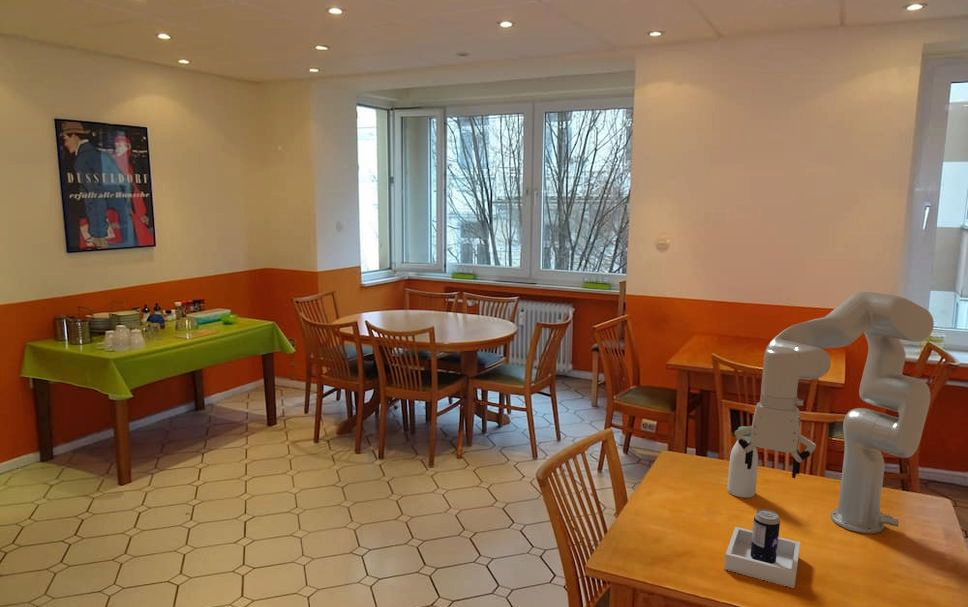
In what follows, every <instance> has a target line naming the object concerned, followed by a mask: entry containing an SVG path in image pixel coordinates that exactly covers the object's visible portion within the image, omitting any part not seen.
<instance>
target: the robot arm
mask: <svg viewBox="0 0 968 607" xmlns="http://www.w3.org/2000/svg"><path fill="white" fill-rule="evenodd" d="M934 325H935V322H934V317H933V315H932V313H931V312H930V311H929V310H928V309H927V308H925V307H923V306H920V305H919V304H917V303H916V302H913V301H911V300H909V299H907V298H905V297H902V296H898V295H894V294H893V295H892V294H885V293H878V292H871V291H859V292H855V293H853V294H851V295H850V296H849V297H848V298H846V299H845V300H844V301H843V302H842V303H841V304H839V305H838V306H836V308H833V309H832V311H830V312H829V313H827V314H826V315H825V316H823V317H819V318H814V319H811V320H807V321H804V322H799V323H797V324H793V325H791V326H789V327H787V328H785V329H783V330H782V331H781V332H780V333H778V335H776V336H775V337H773V339H771V341H770V342H769V343H768V344H767V346H766V347H765V352H764V355H763V365H762V366H763V367H762V378H761V387H760V388H761V389H760V397H759V398H760V399H759V402H757V403H756V406H755V409H754V413H753V417H752V418H753V419H752V422H751V423H752V424H751V425H750V426H747V427H745V428H742V429H735V431H734V436H735V438H736V439H737V440H738V442H739V444H740V445H741V446H742V448H743V449H744V451H745V452H746V455H745V464H748V465H747V469H751V466H752V460H753V449H754V448H755V447H756V448H761V449H766V450H771V451H775V452H776V451H777V452H782V453H788V454H789V453H790V454H791V456H792V457H793V462H792V470H791V471H792V472H791V473H792V474H791V478H792V479H796V476H797V475H800V472H801V463H802V462H803V461H804V460H806V459H807V458H809V457H810V456H811V454H813V452H814V451H815V449H816V448H817V444H816V443H815V442H813V441H811V439H809V438H807V437H805V436H804V435H803V434H801V416H800V414H801V413H800V409H799V408H798V407H803V406H804V399H800V398H799V397H798V386H799V385H798V384H799V380H817V379H820V378H822V377H824V376H825V375H827V373H828V372H829V370H830V369H831V364H832V359H831V357H830V355H829V353H828V352H827V351H826V350H824V349H833V348H843V347H847V346H849V345H851V344H852V343H854V342H855V341H856V340H857V339H858V338H859V337H860V336H862V335H863V334H864V336H865V339H866V342H867V347H868V349H867V350H868V351H867V357H866V361H865V363H864V364H865V365H864V367H863V372H862V377H861V381H860V383H859V390H858V391H859V392H858V393H859V397H860V399H861V400H862V401H863V402H865V403H866V404H870V405H872V406H876V407H879V408H883V409H886V410H889V411H893V412H897V413H898V417H897V416H895V415H894V416H893V415H890V414H887V413H885V412H880V411H876V410H873V409H871V408H865V407H864V408H863V407H862V408H861V407H857V408H853V409H851V410H849V411H848V412H847V413H846V414H845V416H844V420H843V426H842V429H843V437H844V438H843V439H844V454H843V462H842V471H841V472H842V473H841V481H840V488H839V497H838V505H837V506H838V507H837V508H835V509H833V510H831V512H830V518H831V520H832V522H834V523H835V524H836V525H838V526H840V527H842V528H844V529H846V530H849V531H853V532H854V533H855V532H856V533H860V534H878V533H880V532H883V530H884V528H885V525H889V526H892V527H899V520H900V519H898V518H895V517H894V516H893V514H885V513H883V512H882V511H881V507H880V506H881V498H882V489H883V482H884V472H885V460H884V457H883V456H884V455H882V452H883V453H885V454H888V455H891V456H895V457H899V458H911V457H912V456H913V455H915V453H916V452H917V450H918V447H919V446H920V442H921V439H922V436H923V430H924V428H925V424H926V419H927V417H928V412H929V408H930V403H931V390H930V387H929V385H928V384H927V383H926V382H925V381H923V380H922V379H919V378H916V377H913V376H908V375H904V374H903V371H904V366H905V362H906V359H907V358H906V356H907V355H906V351H905V348H904V346H903V344H902V341H901V340H903V341H907V342H913V343H921V342H924V341H926V340H927V339H928V338H929V337H930V336H931V334H932V333H933V331H934ZM748 433H751V442H749V443H747V442H746V440H745V439H744V438H743V435H744V434H748ZM737 440H736V441H737ZM800 443H801V444H803V445H805V446H806V449H805V450H803V451H800V450H799V448H798V447H799V444H800Z"/></svg>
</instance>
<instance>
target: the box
mask: <svg viewBox="0 0 968 607" xmlns="http://www.w3.org/2000/svg"><path fill="white" fill-rule="evenodd" d="M752 533H753V530H751V529H746V528H743V527H738V526H735V527H734V529H733V532H732V535H731V538H730V541H729V544H728V546H727V548H726V552H725V558H724V571H727V570H728V572H730V571H732V572H731V573H734V572H736V573H735V574H738V573H739V575H741V574H742V576H745V575H746V577H749V576H750V578H752V577H754V578H753V579H756V578H757V579H758V580H761V581H763V580H765V582H767V581H768V583H771V582H772V583H771V584H774V583H776V584H775V585H778V584H780V585H779V586H782V585H784V586H783V587H785V586H788V587H787V588H789V587H791V588H790V589H793V588H794V589H795V586H796V579H797V573H798V565H799V559H800V558H799V557H800V551H801V550H800V549H801V541H797V540H792V539H788V538H784V537H781V536H779V537H778V547H777V556H776V562H775V563H773V564H770V563H766V562H762V561H758V560H755V559H752V557H751V555H750V554H751V544H752Z"/></svg>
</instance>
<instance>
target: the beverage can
mask: <svg viewBox="0 0 968 607" xmlns="http://www.w3.org/2000/svg"><path fill="white" fill-rule="evenodd" d="M779 517H780V516H779V515H778V513H777V512H775V511H773V510H770V509H759V510H757V511H756V512H755V514H754V517H753V525H752V531H753V533H752V544H751V554H750V555H751V557H752V559H755V560H758V561H762V562H766V563H770V564H773V563H775V562H776V556H777V547H778V537H780V536H779V534H780V526H781V521H780V519H779Z"/></svg>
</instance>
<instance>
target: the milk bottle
mask: <svg viewBox="0 0 968 607" xmlns="http://www.w3.org/2000/svg"><path fill="white" fill-rule="evenodd" d="M745 427H748V426H746V425H745V426H744V425H742V426H738V429H742V428H745ZM738 429H737V430H738ZM743 438H744V439H745V440H746V442H747V443H749V442H751V433H748V434H744V435H743ZM745 455H746V452H745V451H744V449H743V448H742V446H741V445H740V444H739V442H738V440H736V442H735V444H734V445H733V447H732V448H731V451H730V458H729V465H728V476H727V491H728V493H729V494H731V495H732V496H734V497H736V498H737V497H738V498H742V499H748V498H753V497H755V495H756V489H757V488H756V487H757V478H758V477H757V476H758V466H759V454H758V451H757V447H755V448H754V449H753V460H752V466H751V469H747V465H748V464H745Z"/></svg>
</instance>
